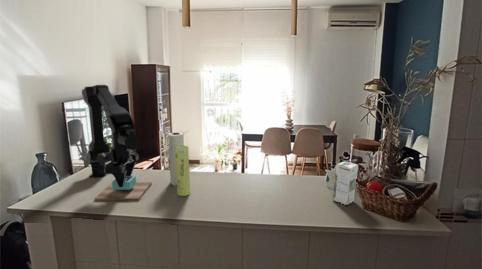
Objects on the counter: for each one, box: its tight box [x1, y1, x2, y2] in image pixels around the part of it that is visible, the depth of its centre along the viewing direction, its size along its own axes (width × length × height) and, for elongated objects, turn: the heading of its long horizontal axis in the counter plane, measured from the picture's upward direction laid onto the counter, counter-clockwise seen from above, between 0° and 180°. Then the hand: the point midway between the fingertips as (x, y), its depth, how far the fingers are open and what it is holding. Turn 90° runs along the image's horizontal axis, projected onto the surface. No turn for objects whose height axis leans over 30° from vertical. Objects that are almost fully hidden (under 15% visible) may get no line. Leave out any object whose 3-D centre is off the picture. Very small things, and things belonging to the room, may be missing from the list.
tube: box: [175, 144, 191, 197], centre depth 112 cm, size 6×5×20 cm
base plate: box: [94, 181, 153, 202], centre depth 115 cm, size 16×16×1 cm
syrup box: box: [332, 161, 359, 204], centre depth 107 cm, size 6×6×14 cm
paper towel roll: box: [168, 131, 185, 187], centre depth 123 cm, size 7×6×21 cm
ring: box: [111, 175, 137, 190], centre depth 114 cm, size 7×7×3 cm
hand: (124, 183), depth 114 cm, fingers closed on ring, 7 cm apart
